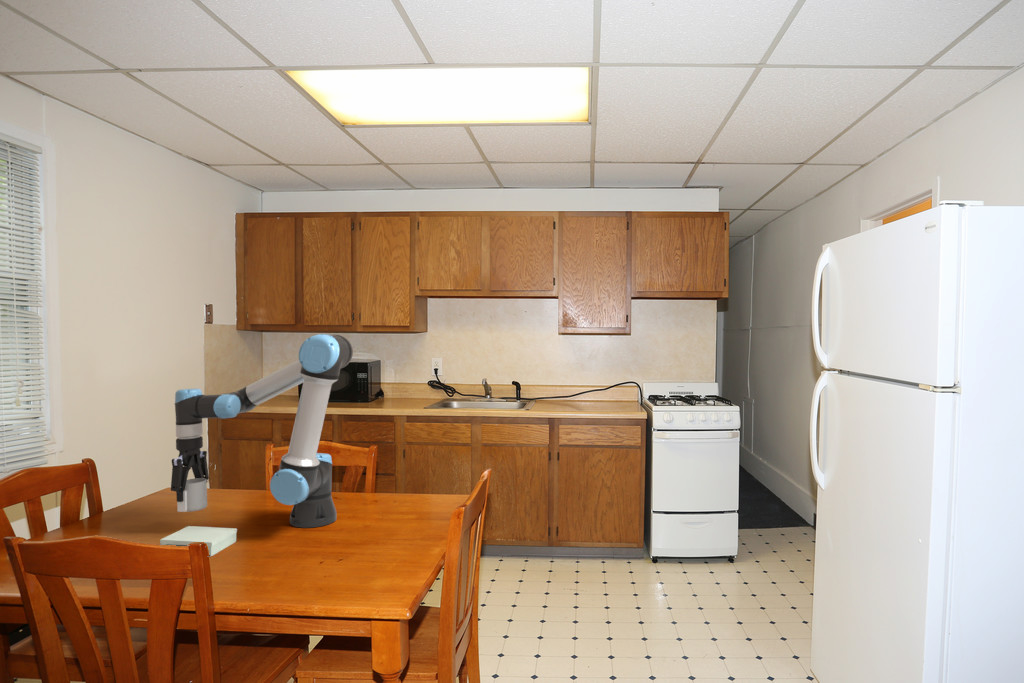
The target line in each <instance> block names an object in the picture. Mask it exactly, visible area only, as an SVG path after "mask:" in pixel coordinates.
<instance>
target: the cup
mask: <svg viewBox="0 0 1024 683" xmlns="http://www.w3.org/2000/svg"><path fill="white" fill-rule="evenodd" d="M207 484H208V480H207V481H206V479H205V478H195V477H194V478H187V481H186V485H185V490H184V491H187V511H186V512H190V513H191V512H196V511H197V512H198V511H202V510H204V509H206V508H207V507H208V489H207V488H208V487H207Z"/></svg>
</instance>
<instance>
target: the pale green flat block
mask: <svg viewBox="0 0 1024 683" xmlns="http://www.w3.org/2000/svg"><path fill="white" fill-rule="evenodd" d="M237 532H238V528H233V527H213V526H192V525H188V526H185V527H183V528H182V529H180V530H177V531H176V532H173V533H171V534H169V535H166V536H164V537H163V538H161V539H160V540H159V542H160V543H159V544H160V546H161V545H176V546H180V547H182V546H189V545H188V544H190V543H193V542H204V543H206V544H207V546H208V550H209V555H210V556H209V557H212V556H215V555H216V554H218V553H220V552H221V551H222V550H225V549H226V548H228V547H230V546H231V545H233V544H235V543H236V542H237Z"/></svg>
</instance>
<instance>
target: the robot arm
mask: <svg viewBox="0 0 1024 683" xmlns="http://www.w3.org/2000/svg"><path fill="white" fill-rule="evenodd" d="M353 354H354V350H353V346H352V343H351V342H350V340H348V339H347V338H346V337H345V336H342V335H339V334H326V333H325V334H324V333H319V334H316V335H312V336H309V337H308V338H306V339H305V340H304V341H303V342H302V343H301V345H300V347H299V349H298V359H297V360H296V361H293V362H292V363H290V364H288V365H286V366H284V367H282V368H280V369H279V370H277V371H274V372H271V373H270V374H268V375H266V376H265V377H261V379H260V378H259V379H258V380H256V381H255V382H252V383H251V384H248V385H247V386H244V387H243V388H241V389H238V390H235V391H231V392H226V393H220V394H203V391H202V389H200V388H183V389H178V390H176V391H175V394H174V395H175V396H174V407H175V408H174V410H175V411H174V412H175V436H176V439H175V449H176V451H178V452H179V454H178V457H177V458H172V459H171V465H172V468H171V469H172V470H171V479H170V480H171V482H170V491H171V492H176V495H175V496H176V502H177V503H176V505H177V506H176V507H177V508H176V509H177V512H178V513H180V512H182V513H185V512H186V511H187V491H184V490H185V485H186V481H187V480H188V476H189V472H190V470H191V471H192V473H193V476H194V479H195V478H205V479H206V481H207V482H208V480H209V479H210V478H209V477H210V476H209V469H208V462H207V461H208V460H207V455H208V451H206V450H201V449H202V448H203V447H204V446H203V445H204V442H203V440H204V438H203V434H204V432H203V431H204V430H203V419H224V420H225V419H232V418H236V417H237V416H238V415H239V414H242V413H248V412H250V411H252V410H254V409H255V408H256V407H257V406H259V405H261V404H263V403H266V402H267V401H269V400H271V399H273V398H275V397H277V396H279V395H281V394H283V393H285V392H287V391H289V390H291V389H293V388H296V387H297V386H299V385H301V384H302V387H301V392H300V397H299V401H298V405H297V410H296V414H295V420H294V423H293V428H292V432H291V436H290V442H289V444H288V445H289V446H288V450H287V451H288V452H287V453H285V454H283V456H281V458H280V464H279V468H278V470H277V471H276V472H274V474H273V476H272V477H271V478H270V481H269V489H270V492H271V495H272V496H273V498H274V499H275V501H277V502H279V503H280V504H282V505H286V506H293V507H292V509H291V512H290V516H289V524H290V525H291V526H293V527H295V528H303V529H304V528H306V529H307V528H317V527H322V526H328V525H331V524H333V523H334V522H336V521H337V509H336V507H335V504H334V501H333V497H332V487H333V486H332V485H333V484H332V483H333V482H332V481H333V479H332V477H333V474H332V473H333V471H332V470H333V460H332V456H331V454H329V453H323V452H318V449H319V444H320V440H321V434H322V431H323V426H324V421H325V417H326V412H327V408H328V404H329V399H330V395H331V390H332V386H333V384H334V383H336V382H337V381H339V378H340V372H341V369H343V368H345V367H347V366H348V365H349V363H350V362H352V358H353Z"/></svg>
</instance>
